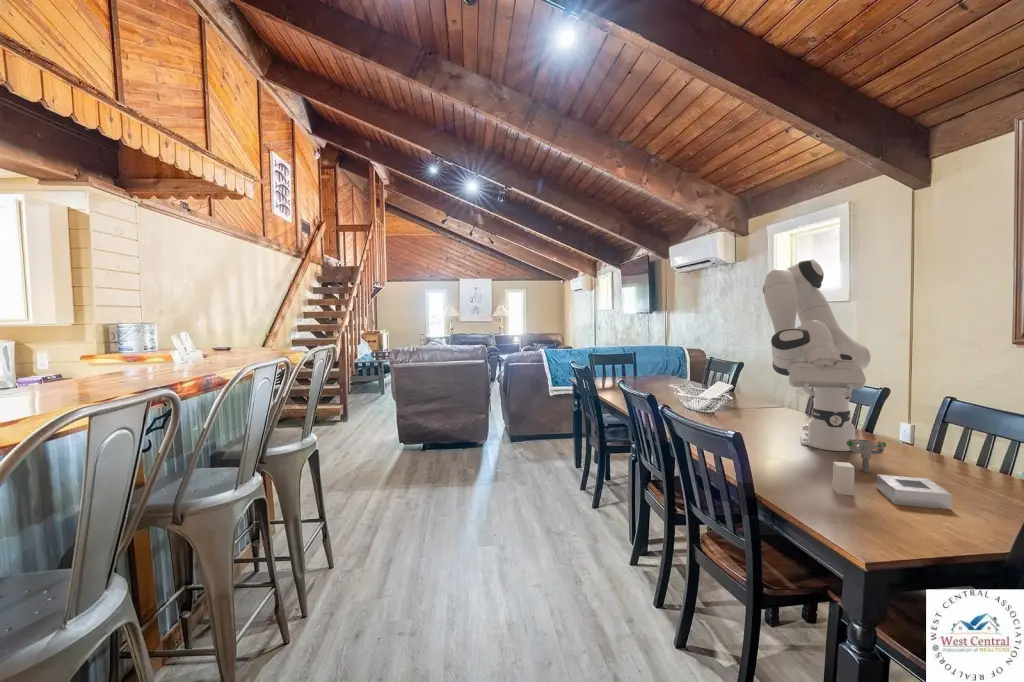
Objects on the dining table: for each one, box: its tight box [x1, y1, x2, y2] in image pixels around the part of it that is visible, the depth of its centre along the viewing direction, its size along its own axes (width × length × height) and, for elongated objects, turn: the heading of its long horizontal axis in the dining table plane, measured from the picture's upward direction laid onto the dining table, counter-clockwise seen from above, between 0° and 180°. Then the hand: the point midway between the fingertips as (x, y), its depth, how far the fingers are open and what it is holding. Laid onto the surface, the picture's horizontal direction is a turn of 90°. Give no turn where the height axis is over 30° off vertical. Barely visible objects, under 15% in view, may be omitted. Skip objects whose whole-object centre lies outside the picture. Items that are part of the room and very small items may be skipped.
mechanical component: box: [847, 439, 887, 473], centre depth 151 cm, size 3×10×10 cm, turn 78°
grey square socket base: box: [876, 474, 953, 510], centre depth 130 cm, size 12×12×4 cm
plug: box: [832, 461, 856, 496], centre depth 135 cm, size 4×4×8 cm
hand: (829, 397), depth 146 cm, fingers open, 8 cm apart
